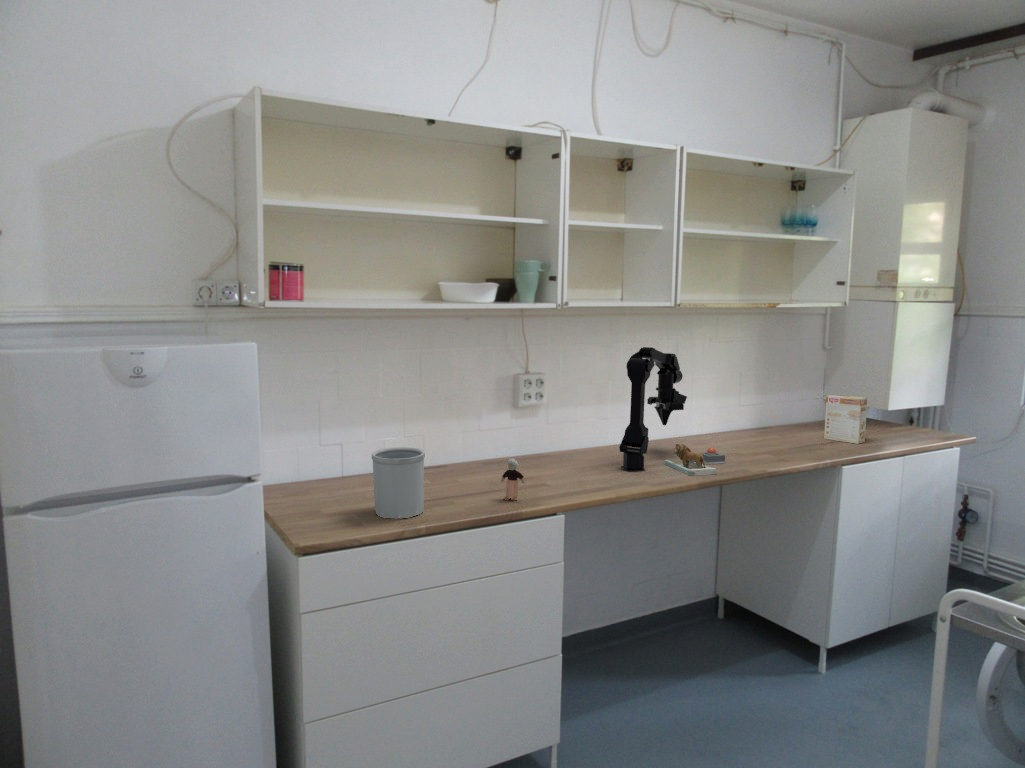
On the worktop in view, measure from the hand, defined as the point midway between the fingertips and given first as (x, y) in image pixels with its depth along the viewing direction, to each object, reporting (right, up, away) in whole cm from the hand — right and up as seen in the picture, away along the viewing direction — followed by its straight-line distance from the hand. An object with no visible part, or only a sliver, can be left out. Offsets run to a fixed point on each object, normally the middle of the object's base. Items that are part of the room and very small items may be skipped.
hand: (664, 425), depth 282 cm
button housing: (+16, -13, -9) cm, 23 cm away
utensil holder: (-92, -21, -76) cm, 121 cm away
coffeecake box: (+85, -9, +33) cm, 92 cm away
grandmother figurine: (-59, -19, -62) cm, 88 cm away
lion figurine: (+5, -15, -22) cm, 27 cm away
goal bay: (+5, -15, -21) cm, 26 cm away
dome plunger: (+16, -12, -10) cm, 22 cm away
